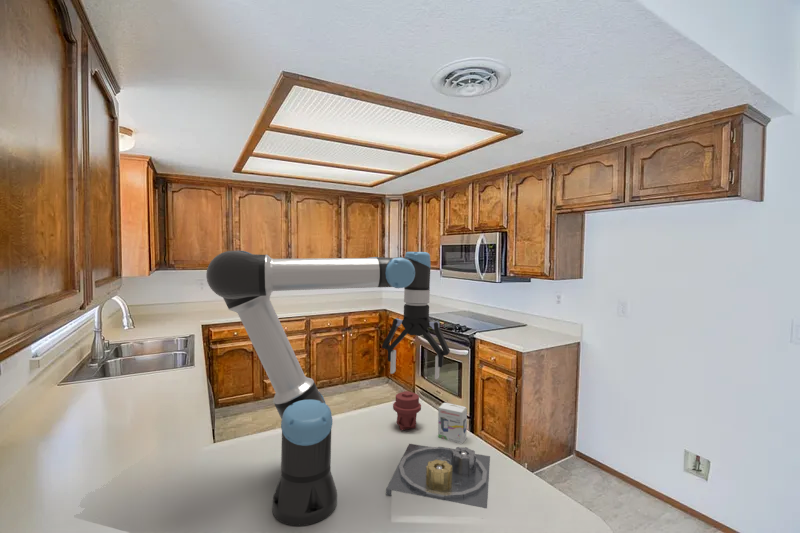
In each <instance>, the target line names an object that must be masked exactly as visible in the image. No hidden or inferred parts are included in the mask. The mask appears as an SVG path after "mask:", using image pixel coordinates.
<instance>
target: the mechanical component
mask: <svg viewBox="0 0 800 533" xmlns="http://www.w3.org/2000/svg"><path fill="white" fill-rule="evenodd" d="M392 409H393V411H395V412H396V415H397V416H396V424H397V426H399V430H400V431H406V430H409V429H413V430H414V429H416V428H417V415H418V414H417V413H420V411H421V410H422V404H421V403H420V396H419V394H417V393H416V392H412V391H409V390H405V391H401V392H398V393H397V394H396V395H395V401H394V402H393V403H392Z"/></svg>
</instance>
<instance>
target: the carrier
mask: <svg viewBox="0 0 800 533" xmlns="http://www.w3.org/2000/svg"><path fill="white" fill-rule="evenodd" d="M454 449H455V448H449V447H444V446H426V445H422V444H421V445H420V444H414V443H408V445H407V448H405V450H404V451H405V452H404V453H403V455H402V457H401V458H400V461H399V463H398V465H397V467H396V469H395V471H394V473H393V475H392V477H391V479H390V481H389V482H388V485H387V487H386V490H385V496H390V497H392V491H394V492H400V493H404V494H410V495H414V496H418V497H419V496H420V497H423V498H424V497H425V498H430V499H434V500H440V501H445V502H451V503H456V504H457V503H458V504H463V505H467V506H471V507H478V508H483V509H488V500H489V499H488V496H489V479H490V478H489V477H490V467H491V466H490V462H491V456H489V455H485V454H479V453H478V454H477V453H475V455H476V472H473V473H472V474H471V475H459V473H457V472H455V471H453V470H452V484H451V488H450V489H446V490H444V491H439V490H432V489H430V487H429V486H428V485H426V466H428V462H429V461H430V462H431V461H434V460H440V461H447V463H448V464H450V465H451V460H452V450H454ZM461 455H467V453H466V452H464V451H463V452H461ZM436 469H440V470H441V469H442V466H440V465H438V466H437V467H436Z"/></svg>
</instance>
